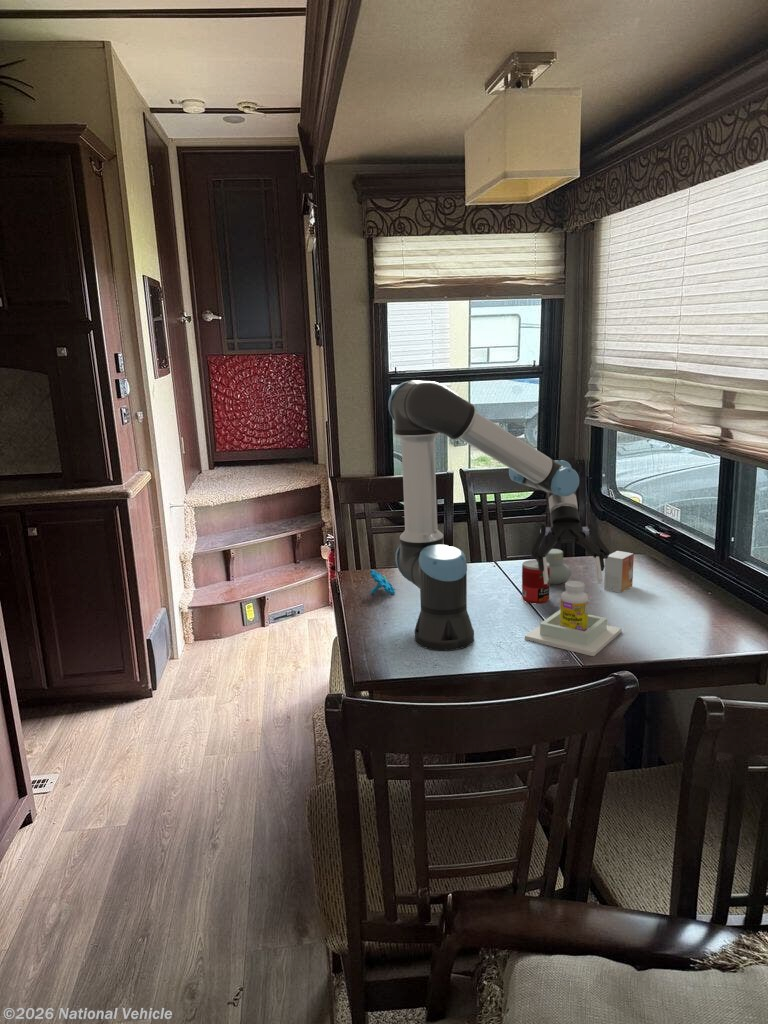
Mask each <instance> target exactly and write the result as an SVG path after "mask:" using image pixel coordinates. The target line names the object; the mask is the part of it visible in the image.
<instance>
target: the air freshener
mask: <svg viewBox="0 0 768 1024" xmlns="http://www.w3.org/2000/svg"><path fill="white" fill-rule="evenodd" d="M545 557H546V562H548V563H549V564H550V585H559V584H562V583H566V582H568V581H569V580H570V577H571V576H572V571H571V569H570V567H569V566H568V565H567V564H566V563H564V551H563V550H561V549H560V548H559V549H558V548H552V549H551V550H550V551H549V553H548V554H547V555H546V556H545Z"/></svg>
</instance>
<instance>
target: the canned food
mask: <svg viewBox="0 0 768 1024" xmlns="http://www.w3.org/2000/svg"><path fill="white" fill-rule="evenodd" d="M547 571H548V583H547V584H544V578H543V571H539V568H538V562H537V560H536V559H531V560H529V559H528V560H526V561H525V560H524V561H523V562H522V567H521V597H522V598H521V599H522V600H523V601H524V602H525V601H526V603H528V602H529V603H528V604H532V603H536V604H535V605H539V604H542V603H543V604H545V603H547V602H549V601H550V586H551V584H550V564H549V563H548V562H547Z"/></svg>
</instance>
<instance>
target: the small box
mask: <svg viewBox="0 0 768 1024" xmlns="http://www.w3.org/2000/svg"><path fill="white" fill-rule="evenodd" d="M634 556H635V555H634V553H633V552H632V553H631V552H627V551H621V550H616V551H614V552H612V553H610V554H609V556H608V558H607V559H604V566H605V567H604V580H603V585H604V588H603V589H604V590H606V589H607V591H611V590H612V592H618V593H624V591H626V590H628V589H630V588H632V587H633V581H634V580H633V579H634V560H635V559H634Z"/></svg>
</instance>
